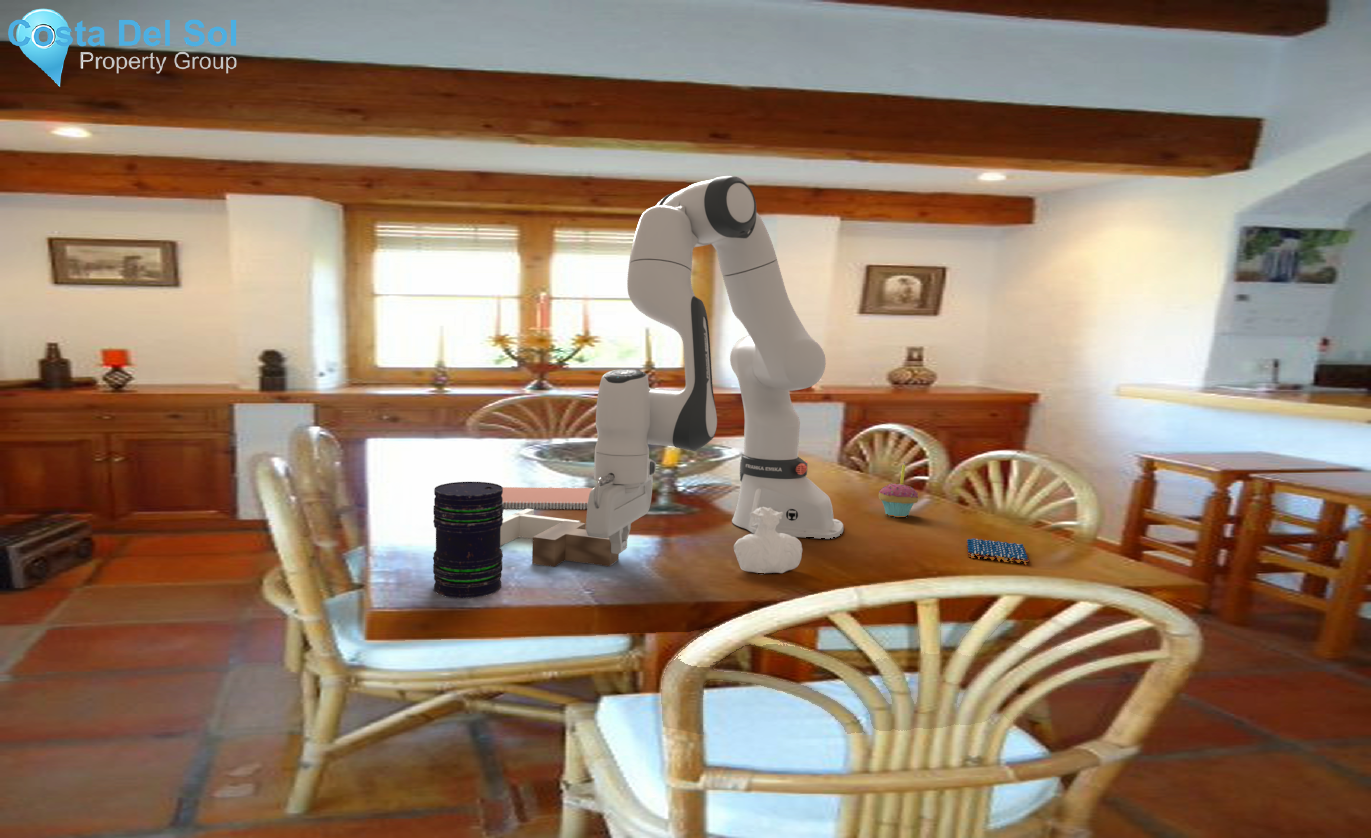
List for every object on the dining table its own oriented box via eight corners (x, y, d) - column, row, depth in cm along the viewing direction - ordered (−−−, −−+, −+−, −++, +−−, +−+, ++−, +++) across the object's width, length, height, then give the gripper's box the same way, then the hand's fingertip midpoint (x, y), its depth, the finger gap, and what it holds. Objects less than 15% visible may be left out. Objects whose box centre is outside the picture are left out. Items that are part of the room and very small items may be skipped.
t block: (627, 553, 137) (627, 528, 137) (599, 573, 126) (600, 545, 126) (564, 545, 141) (564, 520, 140) (532, 563, 129) (532, 537, 129)
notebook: (475, 511, 165) (475, 502, 165) (484, 494, 182) (484, 485, 182) (606, 512, 169) (606, 503, 169) (603, 495, 186) (603, 487, 186)
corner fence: (588, 537, 147) (589, 516, 147) (518, 577, 122) (519, 552, 122) (526, 529, 151) (526, 508, 150) (446, 566, 126) (446, 542, 126)
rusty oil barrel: (436, 601, 111) (437, 497, 109) (429, 580, 120) (429, 483, 118) (508, 594, 115) (509, 493, 113) (496, 574, 124) (497, 480, 122)
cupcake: (886, 509, 181) (889, 457, 179) (922, 515, 176) (926, 462, 175) (871, 515, 174) (875, 461, 173) (909, 522, 169) (913, 467, 168)
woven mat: (1030, 568, 140) (1031, 557, 140) (966, 561, 143) (967, 550, 143) (1025, 553, 150) (1026, 543, 150) (965, 546, 153) (966, 536, 153)
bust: (797, 579, 134) (785, 518, 140) (814, 563, 128) (800, 500, 133) (730, 583, 131) (720, 520, 136) (744, 566, 125) (732, 501, 130)
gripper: (615, 482, 119) (612, 571, 120) (659, 461, 138) (656, 539, 140) (576, 478, 120) (574, 566, 122) (625, 458, 140) (623, 534, 141)
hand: (618, 551), depth 131 cm, fingers closed, pressing on t block
